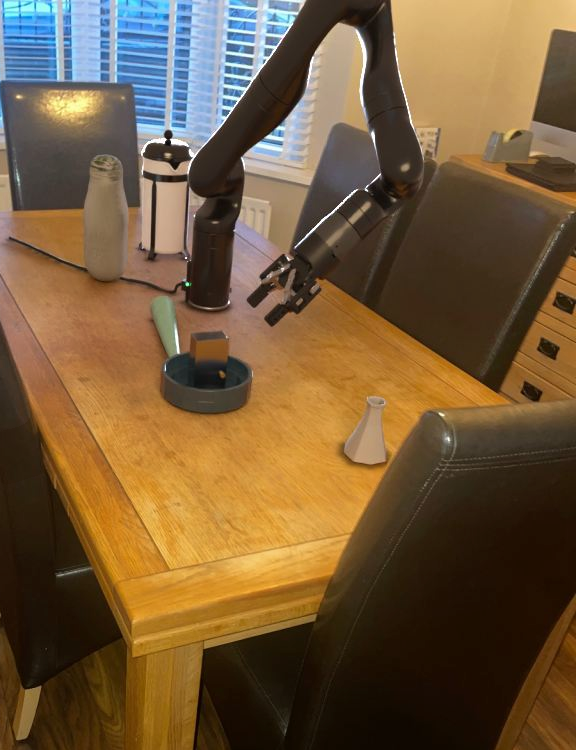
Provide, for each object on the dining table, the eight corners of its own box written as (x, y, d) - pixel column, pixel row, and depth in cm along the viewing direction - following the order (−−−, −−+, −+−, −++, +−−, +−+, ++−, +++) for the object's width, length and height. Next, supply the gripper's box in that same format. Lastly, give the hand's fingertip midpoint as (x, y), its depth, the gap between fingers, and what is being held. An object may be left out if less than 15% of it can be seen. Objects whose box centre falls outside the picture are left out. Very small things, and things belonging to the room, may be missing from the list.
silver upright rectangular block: (216, 383, 146) (221, 328, 140) (225, 395, 143) (230, 340, 136) (186, 386, 145) (189, 331, 138) (194, 399, 141) (198, 342, 135)
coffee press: (204, 252, 211) (212, 130, 193) (171, 266, 200) (177, 139, 182) (151, 238, 218) (155, 119, 200) (117, 252, 207) (117, 127, 189)
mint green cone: (165, 349, 146) (150, 295, 168) (164, 375, 150) (149, 320, 171) (193, 348, 147) (175, 295, 169) (192, 375, 151) (174, 320, 172)
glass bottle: (78, 282, 187) (74, 156, 171) (98, 269, 195) (96, 148, 178) (115, 290, 184) (115, 162, 168) (134, 277, 192) (135, 154, 176)
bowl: (142, 395, 142) (142, 370, 140) (196, 367, 153) (197, 343, 150) (215, 426, 135) (217, 400, 132) (266, 394, 146) (269, 369, 143)
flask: (338, 442, 133) (348, 389, 127) (379, 442, 134) (392, 390, 128) (348, 465, 127) (360, 411, 121) (392, 465, 128) (405, 411, 122)
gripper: (298, 218, 137) (231, 285, 141) (334, 243, 127) (260, 315, 130) (321, 247, 142) (256, 311, 146) (357, 274, 131) (286, 343, 135)
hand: (258, 313), depth 138 cm, fingers open, 8 cm apart
